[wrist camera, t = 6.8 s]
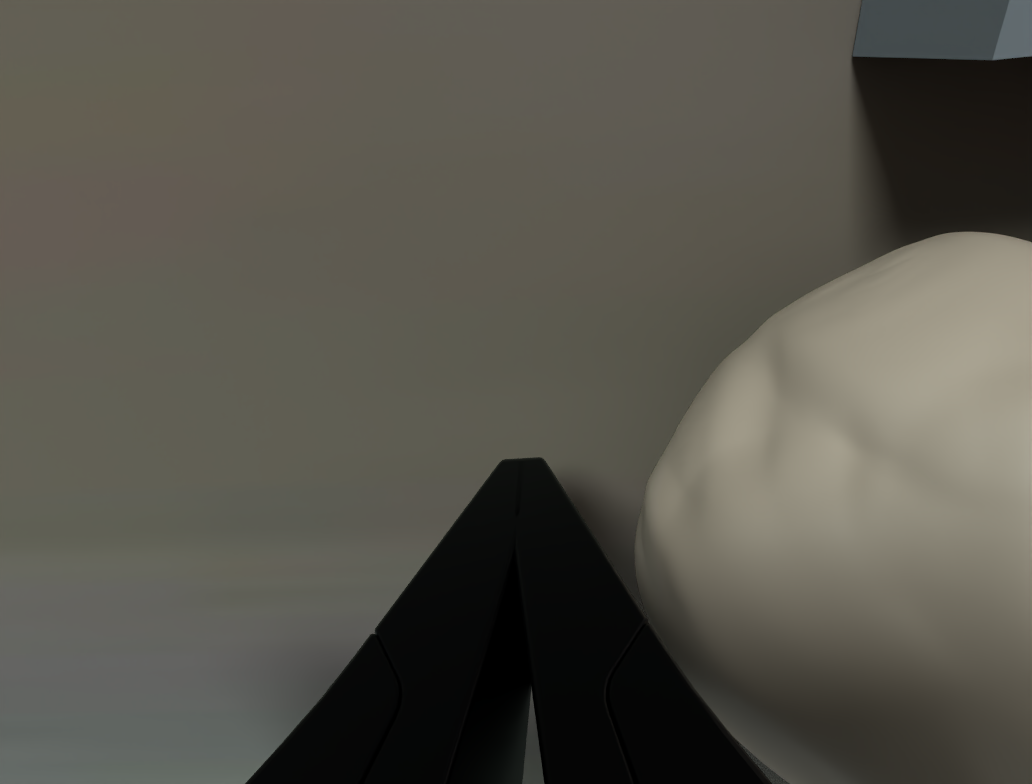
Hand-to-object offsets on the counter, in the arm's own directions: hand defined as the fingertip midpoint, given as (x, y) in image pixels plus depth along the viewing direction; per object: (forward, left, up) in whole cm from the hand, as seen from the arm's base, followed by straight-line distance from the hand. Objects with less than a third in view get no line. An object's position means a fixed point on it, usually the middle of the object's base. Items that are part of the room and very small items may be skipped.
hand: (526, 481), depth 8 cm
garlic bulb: (+5, 0, -2) cm, 5 cm away
